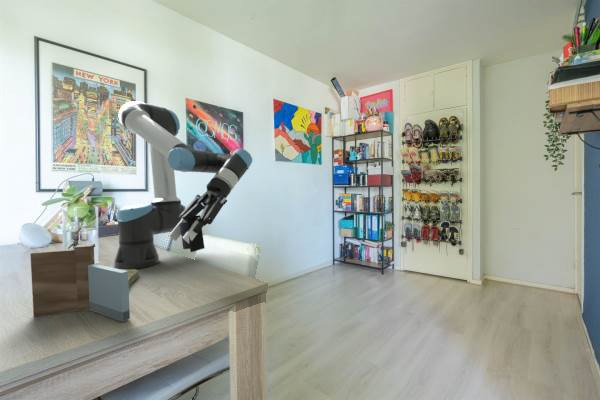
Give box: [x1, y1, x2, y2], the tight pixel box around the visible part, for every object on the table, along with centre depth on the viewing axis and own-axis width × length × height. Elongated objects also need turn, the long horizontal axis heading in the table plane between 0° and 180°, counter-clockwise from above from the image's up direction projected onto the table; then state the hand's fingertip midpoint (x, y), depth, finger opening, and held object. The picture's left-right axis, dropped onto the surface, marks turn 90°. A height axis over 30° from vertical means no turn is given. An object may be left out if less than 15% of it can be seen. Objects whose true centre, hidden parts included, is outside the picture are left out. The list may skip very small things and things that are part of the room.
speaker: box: [180, 214, 205, 253], centre depth 85 cm, size 8×6×10 cm
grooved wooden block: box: [30, 243, 96, 318], centre depth 68 cm, size 3×12×16 cm, turn 113°
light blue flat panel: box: [88, 263, 131, 323], centre depth 65 cm, size 13×2×11 cm, turn 63°
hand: (179, 239), depth 82 cm, fingers closed on speaker, 6 cm apart
